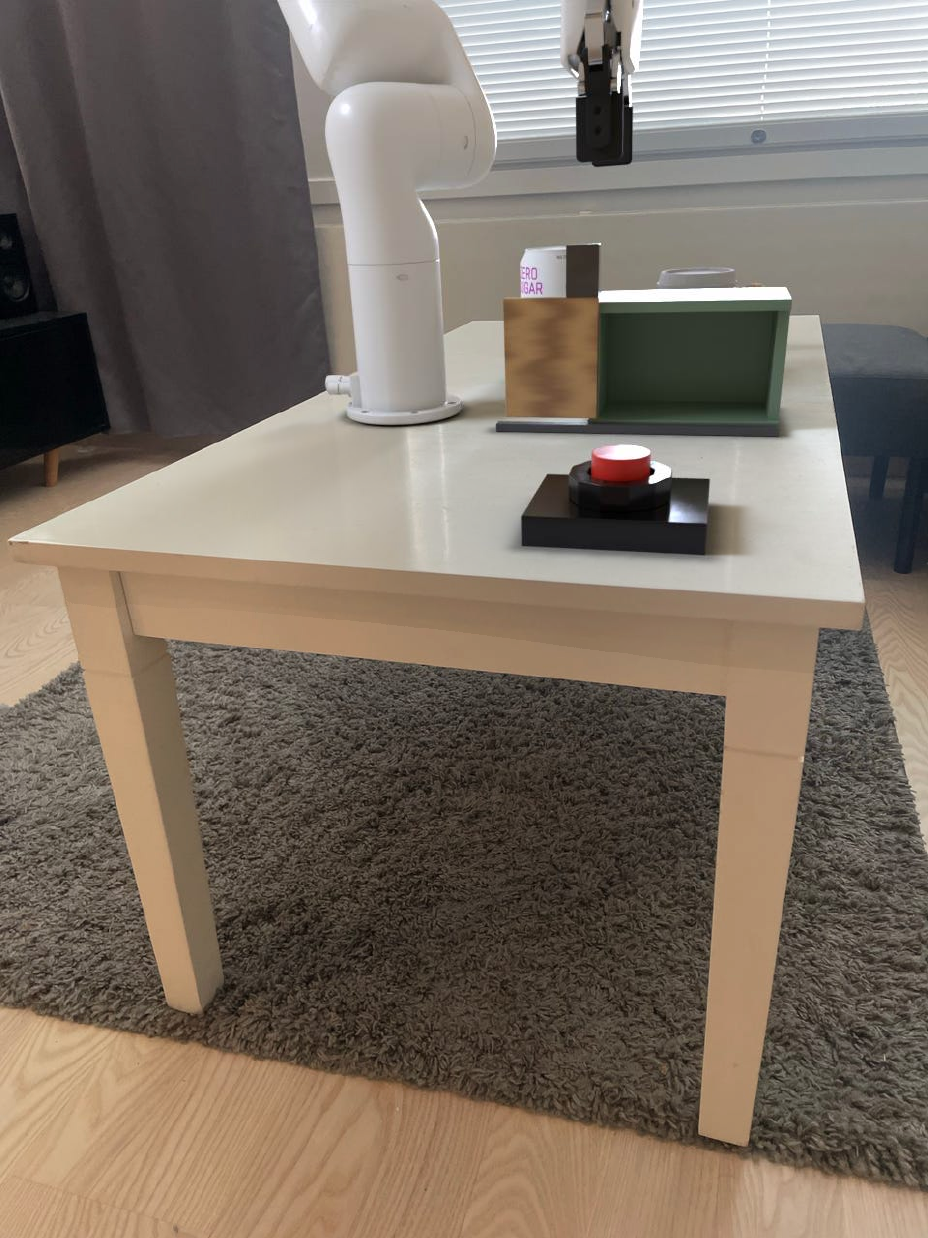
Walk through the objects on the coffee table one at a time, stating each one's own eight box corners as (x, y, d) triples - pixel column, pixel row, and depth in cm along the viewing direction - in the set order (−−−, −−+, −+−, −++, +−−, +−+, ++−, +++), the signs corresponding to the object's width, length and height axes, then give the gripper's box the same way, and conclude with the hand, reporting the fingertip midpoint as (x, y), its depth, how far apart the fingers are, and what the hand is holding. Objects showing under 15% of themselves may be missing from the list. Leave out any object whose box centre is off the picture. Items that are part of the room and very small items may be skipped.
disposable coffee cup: (716, 381, 109) (724, 274, 104) (641, 376, 114) (645, 274, 109) (740, 367, 116) (748, 267, 111) (668, 363, 121) (673, 267, 116)
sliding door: (505, 417, 90) (501, 247, 84) (507, 414, 91) (503, 246, 85) (596, 418, 88) (599, 243, 81) (597, 416, 89) (600, 243, 82)
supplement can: (594, 366, 121) (597, 245, 115) (567, 377, 115) (567, 250, 109) (540, 363, 125) (540, 245, 119) (511, 374, 119) (508, 250, 113)
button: (587, 484, 62) (587, 458, 61) (594, 467, 65) (595, 443, 64) (647, 486, 61) (648, 460, 60) (651, 469, 64) (653, 444, 63)
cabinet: (495, 431, 91) (491, 305, 86) (518, 406, 101) (516, 292, 96) (779, 436, 85) (793, 300, 79) (773, 409, 94) (785, 287, 89)
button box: (521, 546, 61) (520, 489, 60) (547, 501, 70) (546, 450, 68) (704, 556, 58) (709, 496, 57) (707, 507, 67) (711, 453, 65)
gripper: (567, -78, 70) (571, 170, 77) (529, -156, 55) (538, 163, 61) (668, -92, 68) (662, 163, 75) (657, -177, 53) (651, 154, 60)
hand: (606, 163), depth 68 cm, fingers open, 9 cm apart
